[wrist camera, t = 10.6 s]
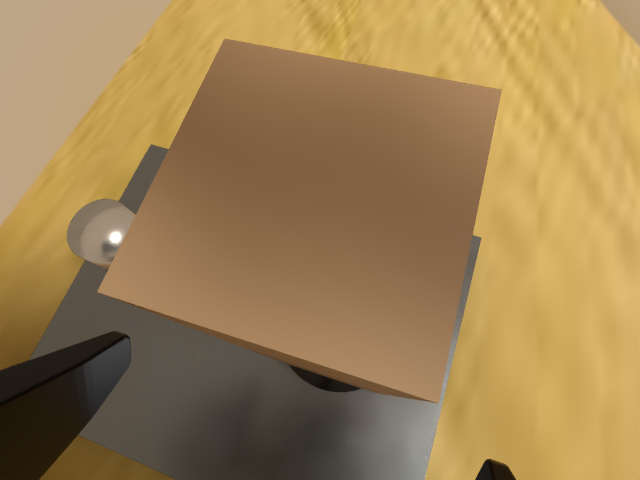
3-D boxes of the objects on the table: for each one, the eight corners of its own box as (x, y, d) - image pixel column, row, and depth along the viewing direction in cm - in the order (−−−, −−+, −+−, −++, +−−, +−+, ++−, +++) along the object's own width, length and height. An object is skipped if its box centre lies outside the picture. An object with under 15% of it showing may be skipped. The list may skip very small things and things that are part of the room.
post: (376, 393, 17) (438, 403, 4) (275, 359, 17) (96, 292, 5) (401, 291, 18) (502, 89, 6) (307, 264, 19) (224, 38, 7)
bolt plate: (397, 568, 16) (417, 649, 11) (26, 400, 19) (-88, 405, 14) (473, 246, 20) (513, 200, 15) (160, 156, 23) (109, 94, 18)
